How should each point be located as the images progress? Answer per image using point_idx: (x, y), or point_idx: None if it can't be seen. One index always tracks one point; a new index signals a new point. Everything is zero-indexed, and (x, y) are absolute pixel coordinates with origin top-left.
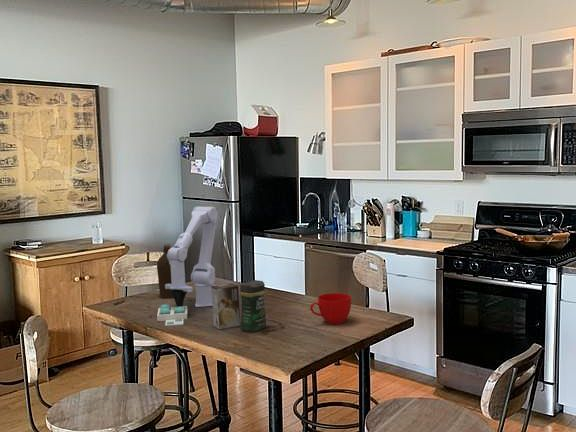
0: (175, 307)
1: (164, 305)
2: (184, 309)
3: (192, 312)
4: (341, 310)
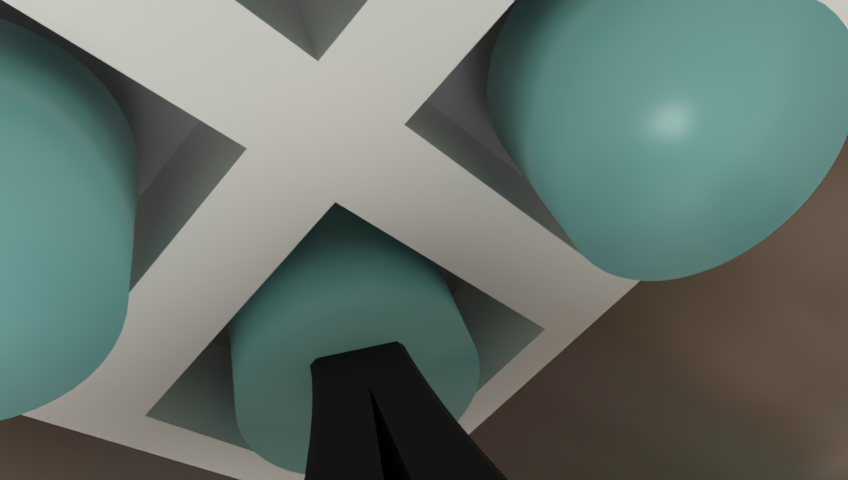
0: (79, 211)
1: (709, 110)
2: (130, 393)
3: None
4: None
